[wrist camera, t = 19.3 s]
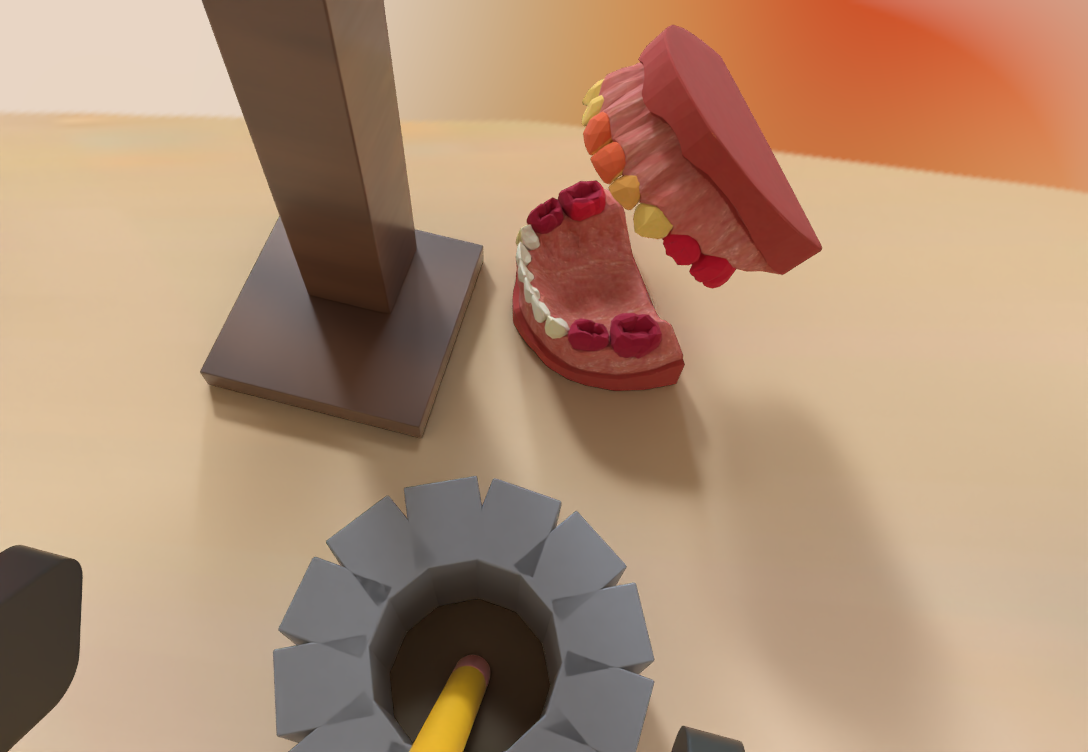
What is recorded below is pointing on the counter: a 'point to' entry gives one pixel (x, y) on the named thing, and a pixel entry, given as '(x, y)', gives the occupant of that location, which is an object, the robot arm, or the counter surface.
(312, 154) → the brown pedestal stand
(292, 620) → the grey segmented ring
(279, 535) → the counter surface
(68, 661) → the robot arm
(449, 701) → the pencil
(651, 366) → the anatomical model
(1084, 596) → the counter surface
